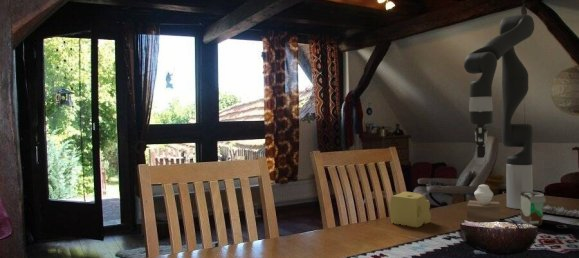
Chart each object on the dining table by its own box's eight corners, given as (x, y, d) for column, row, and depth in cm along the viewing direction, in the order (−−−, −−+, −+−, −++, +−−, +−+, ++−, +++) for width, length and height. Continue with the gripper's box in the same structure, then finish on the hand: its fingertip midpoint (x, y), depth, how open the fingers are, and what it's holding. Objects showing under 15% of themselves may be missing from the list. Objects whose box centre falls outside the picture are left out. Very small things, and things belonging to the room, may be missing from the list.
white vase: (494, 205, 150) (494, 185, 150) (475, 205, 152) (474, 185, 152) (492, 202, 156) (491, 182, 156) (473, 201, 158) (473, 182, 157)
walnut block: (469, 216, 161) (469, 200, 161) (499, 218, 156) (499, 202, 156) (467, 222, 152) (467, 205, 152) (499, 225, 147) (499, 207, 147)
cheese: (431, 222, 154) (431, 193, 154) (416, 228, 146) (416, 198, 146) (404, 218, 161) (403, 191, 161) (389, 223, 153) (388, 195, 153)
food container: (552, 227, 143) (551, 197, 143) (531, 227, 144) (531, 196, 144) (538, 218, 155) (538, 190, 155) (519, 218, 156) (519, 190, 156)
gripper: (470, 110, 161) (471, 154, 162) (467, 110, 149) (468, 158, 149) (493, 109, 158) (493, 154, 159) (492, 109, 145) (492, 158, 146)
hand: (481, 156), depth 154 cm, fingers open, 8 cm apart
